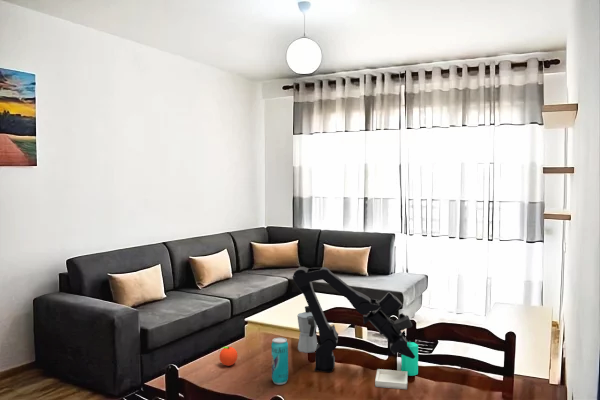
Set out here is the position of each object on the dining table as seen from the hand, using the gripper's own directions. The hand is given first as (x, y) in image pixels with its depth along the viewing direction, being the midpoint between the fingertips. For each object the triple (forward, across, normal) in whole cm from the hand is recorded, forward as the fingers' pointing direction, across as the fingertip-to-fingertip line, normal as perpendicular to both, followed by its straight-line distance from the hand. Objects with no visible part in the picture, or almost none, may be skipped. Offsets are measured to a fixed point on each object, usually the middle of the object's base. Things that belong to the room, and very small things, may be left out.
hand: (413, 354), depth 177 cm
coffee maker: (-24, +18, +34) cm, 45 cm away
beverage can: (-28, -14, +38) cm, 49 cm away
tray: (-1, -9, +10) cm, 14 cm away
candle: (+4, 0, +6) cm, 7 cm away
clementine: (-44, -1, +54) cm, 70 cm away
